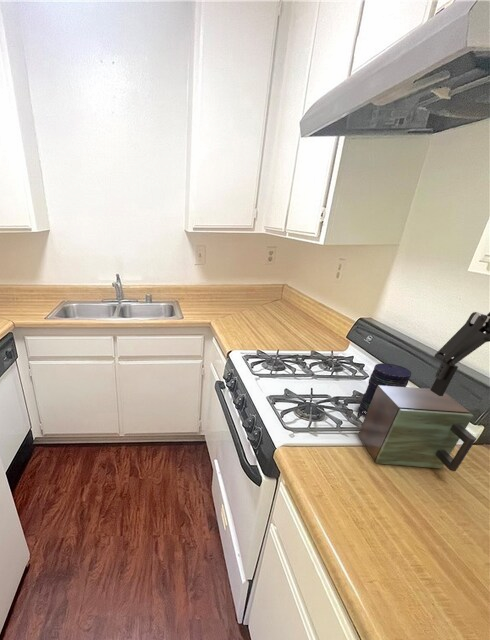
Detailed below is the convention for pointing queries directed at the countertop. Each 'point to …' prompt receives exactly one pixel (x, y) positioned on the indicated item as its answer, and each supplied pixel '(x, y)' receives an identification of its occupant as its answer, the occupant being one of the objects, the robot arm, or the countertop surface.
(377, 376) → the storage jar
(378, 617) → the countertop surface
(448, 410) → the cupboard
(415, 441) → the door
